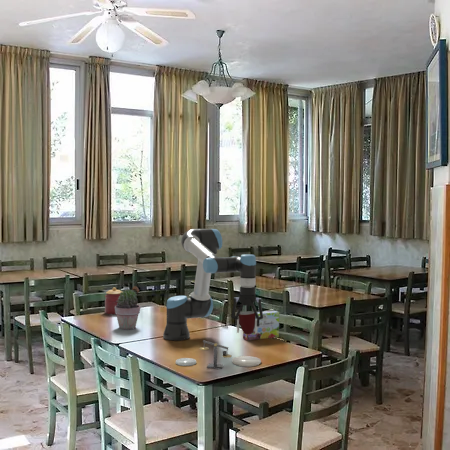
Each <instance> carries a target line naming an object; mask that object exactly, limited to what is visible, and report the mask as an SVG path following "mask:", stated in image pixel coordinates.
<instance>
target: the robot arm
mask: <svg viewBox="0 0 450 450" xmlns="http://www.w3.org/2000/svg"><path fill="white" fill-rule="evenodd" d="M180 242H181V243H180V244H181V247H182V248H183V250H185V251H186V252H187V253H190V254H192V256H194V257H195V258H196V259H197V265H196V272H195V278H194V286H193V287H194V288H193V291H192V292H190V297H188V296H187V295H174V296H171V297H169V298H168V299H167V300H166V306H165V307H166V324H165V327H164V331H163V335H162V337H163V339H165V340H168V341H185V340H188V339H190V336H191V334H190V331H189V328H188V327H189V326H188V319H198V318H202V319H203V318H207V317H209V316H210V315H211V314H212V312H213V309H214V301H213V298H212V296H211V295H210V294H209V293H210V285H211V276H212V274H220V273H221V274H223V273H239V286H240V287H239V296H238V297H233V305H232V306H233V307H232V310H231V311H232V312H231V315H230V317H231V318H232V319H234V326H236V334H237V333H238V334H239V333H240V324H239V314H240V313H241V312H242V309H243V307H245V306H248V307H250V306H251V309H252V312H254V313H255V316H256V320H255V334H257V326H258V327H259V320H260V319H263V307H262V298H261V297H260V298H259V297H257V296H256V284H257V281H256V279H257V277H256V276H257V270H256V269H257V260H256V259H257V258H256V255H255V254H251V253H250V254H249V253H246V254H245V253H243V254H241V255H240V256H238V255H233V256H230V257H229V256H228V257H227V256H224V257H222V256H221V257H219V256H217V254H218V250H221V249H222V247H223V237H222V233H221V232H220V230H218V229H217V228H191V229H189V230H187V231H185V232H184V233H183V234H182V236H181V239H180ZM238 301H239V302H240V303H241V304H240V306H239V309H238V311H237V313H236V309H237V304H238ZM255 302H257V303H258V304H257V305H258V310H259V311H257V309H256V306H255ZM257 312H260V316H259V315H258V313H257ZM235 313H236V314H235Z"/></svg>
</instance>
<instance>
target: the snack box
mask: <svg viewBox="0 0 450 450" xmlns="http://www.w3.org/2000/svg"><path fill="white" fill-rule="evenodd" d="M262 312H263V319H260V320H259V327H258V326H257V334H255V328H254V331H253V333H252V334H244V332H243V331H242V339H243V340H245V341H252V340H253V341H254V340H263V339H271V338H272V339H273V338H279V335H280V334H279V333H280V311H277V310H265V311H263V310H262ZM257 313H258V315H259V316H260V312H259V311H257ZM255 317H256V316H255ZM255 320H256V319H255Z"/></svg>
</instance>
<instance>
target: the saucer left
mask: <svg viewBox="0 0 450 450" xmlns="http://www.w3.org/2000/svg"><path fill="white" fill-rule="evenodd" d="M175 364H176V365H177V366H180V367H189V366H194V365H196V364H197V360H196V359H195V358H192V357H190V358H189V357H181V358H177V359H176V360H175Z"/></svg>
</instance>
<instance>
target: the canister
mask: <svg viewBox="0 0 450 450" xmlns="http://www.w3.org/2000/svg"><path fill="white" fill-rule="evenodd" d="M121 292H123V290H121V289H117V287H112V288H111V289H109V290H107V291H106V292H105V295H104V298H105V300H104V313H105V314H107V315H116V314H115V306H116V305H117V303H118V302H116V301H118V298H119V296H120V293H121ZM114 302H115V303H114Z"/></svg>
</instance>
